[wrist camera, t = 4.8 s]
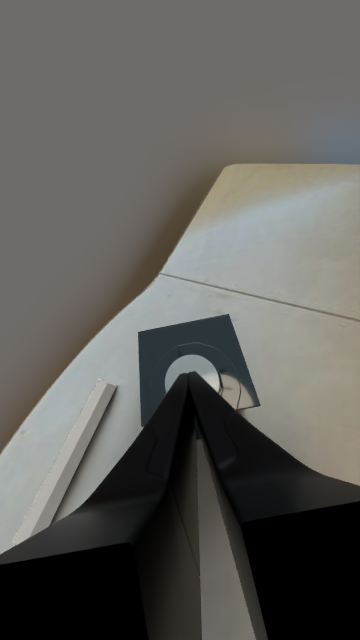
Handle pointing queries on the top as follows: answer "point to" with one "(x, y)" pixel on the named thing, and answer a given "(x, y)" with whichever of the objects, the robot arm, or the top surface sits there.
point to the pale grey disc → (189, 365)
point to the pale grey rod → (65, 463)
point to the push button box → (194, 339)
